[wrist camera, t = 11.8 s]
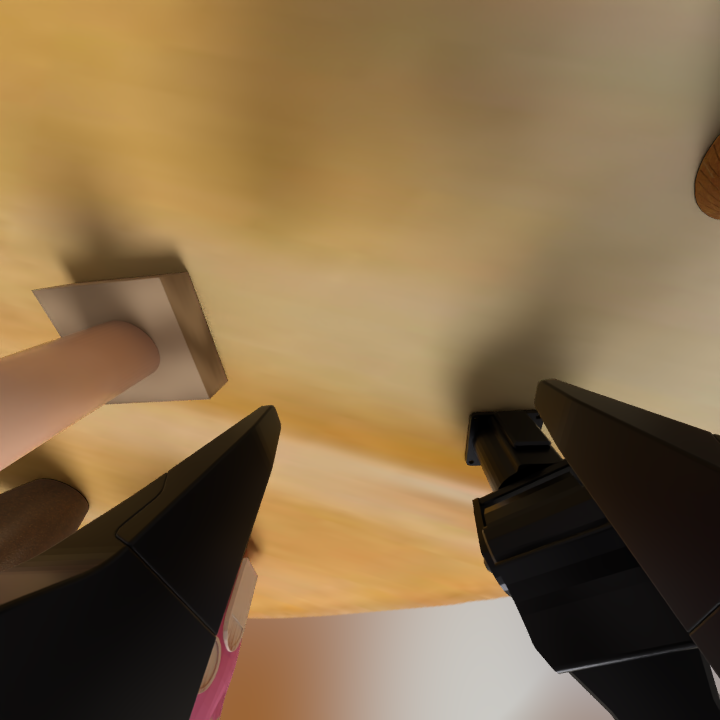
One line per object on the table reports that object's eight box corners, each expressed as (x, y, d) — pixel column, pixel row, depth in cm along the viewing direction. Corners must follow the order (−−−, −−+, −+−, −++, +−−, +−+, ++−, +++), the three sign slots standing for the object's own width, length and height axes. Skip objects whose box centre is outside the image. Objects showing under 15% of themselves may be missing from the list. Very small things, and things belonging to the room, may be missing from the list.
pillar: (171, 354, 20) (-103, 520, 9) (141, 386, 22) (-125, 562, 10) (114, 307, 19) (-311, 432, 7) (86, 345, 20) (-300, 498, 9)
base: (227, 381, 25) (209, 399, 22) (132, 386, 26) (103, 404, 23) (187, 271, 20) (158, 277, 18) (75, 283, 21) (31, 290, 19)
